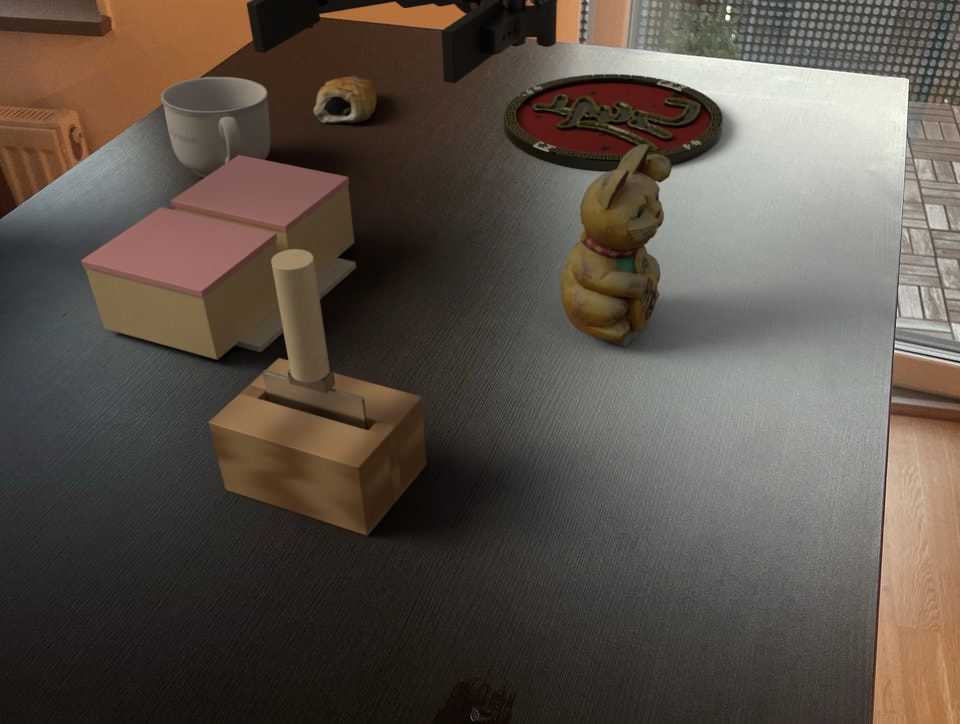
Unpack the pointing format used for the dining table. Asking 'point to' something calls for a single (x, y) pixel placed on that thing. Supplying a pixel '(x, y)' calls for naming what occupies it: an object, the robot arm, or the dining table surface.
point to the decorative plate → (611, 120)
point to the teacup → (217, 121)
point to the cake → (222, 257)
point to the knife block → (322, 453)
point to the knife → (307, 347)
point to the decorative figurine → (617, 250)
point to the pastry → (346, 100)
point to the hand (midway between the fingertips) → (348, 42)
